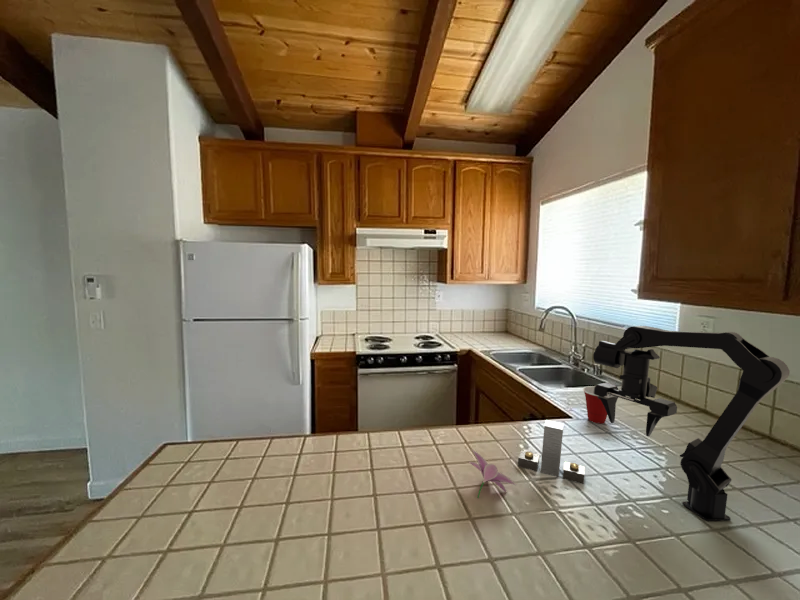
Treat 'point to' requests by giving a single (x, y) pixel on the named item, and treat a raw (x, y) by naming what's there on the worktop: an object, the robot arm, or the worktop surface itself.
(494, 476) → the lily
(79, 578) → the worktop surface
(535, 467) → the chain ends
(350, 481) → the worktop surface
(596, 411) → the plastic cup
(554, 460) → the tall metal block
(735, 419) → the robot arm
